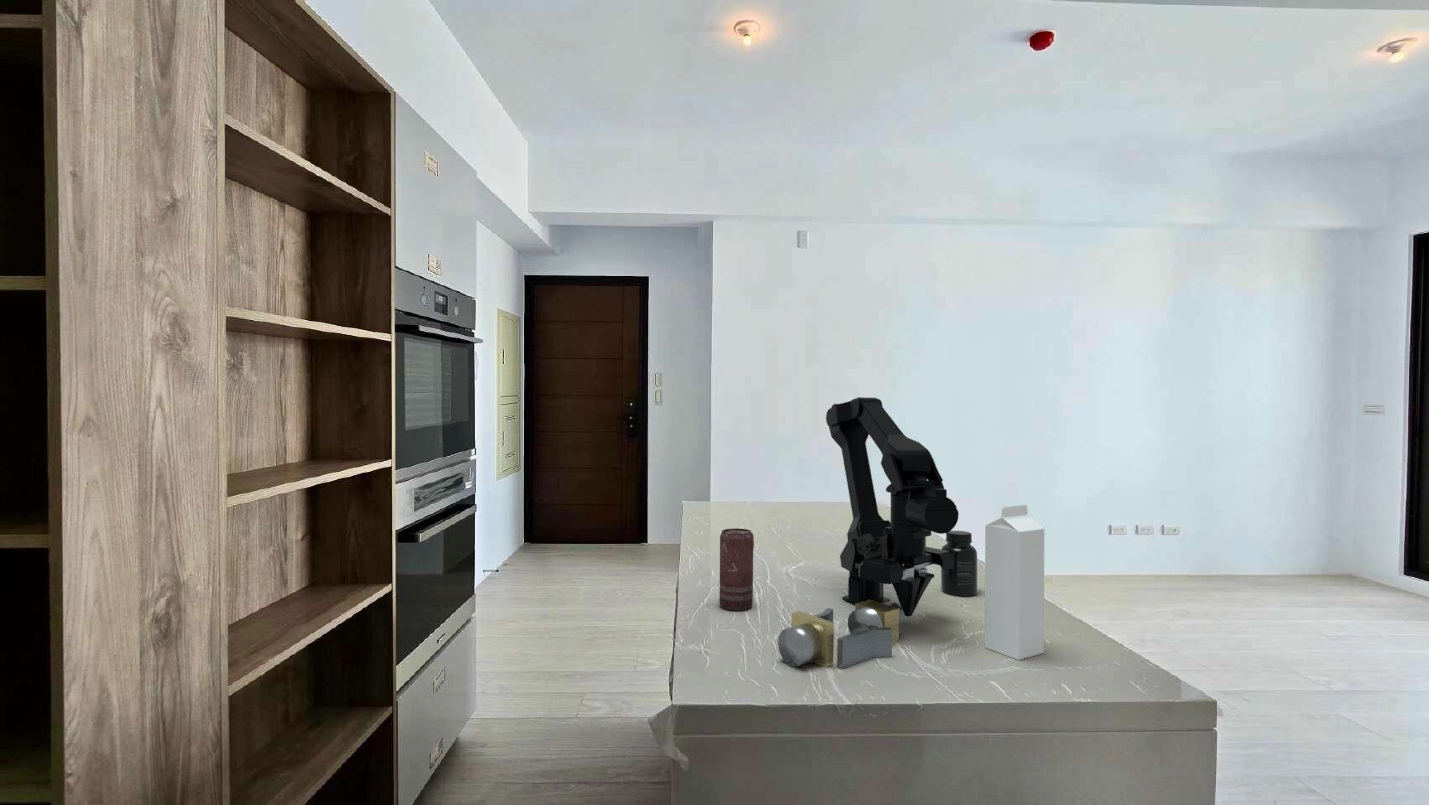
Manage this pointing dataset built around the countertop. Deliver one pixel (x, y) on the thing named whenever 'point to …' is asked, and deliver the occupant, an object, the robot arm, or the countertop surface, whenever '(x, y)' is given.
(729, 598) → the can
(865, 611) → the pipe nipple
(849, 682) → the countertop surface
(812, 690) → the countertop surface
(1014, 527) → the milk
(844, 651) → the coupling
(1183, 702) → the countertop surface
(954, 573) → the supplement bottle
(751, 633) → the countertop surface
